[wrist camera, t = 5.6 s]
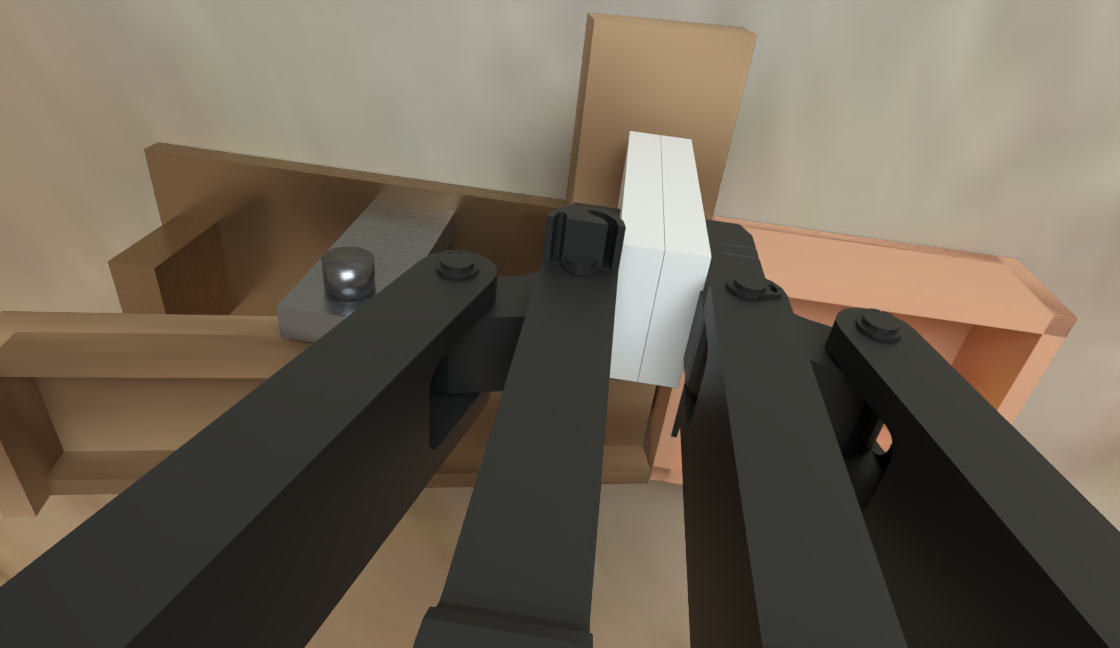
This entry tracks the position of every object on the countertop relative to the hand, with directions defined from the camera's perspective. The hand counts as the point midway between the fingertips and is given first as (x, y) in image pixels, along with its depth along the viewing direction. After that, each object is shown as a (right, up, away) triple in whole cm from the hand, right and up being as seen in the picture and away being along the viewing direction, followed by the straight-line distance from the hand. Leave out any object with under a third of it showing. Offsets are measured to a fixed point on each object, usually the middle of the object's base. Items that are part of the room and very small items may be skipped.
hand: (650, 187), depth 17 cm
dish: (+8, -4, +9) cm, 13 cm away
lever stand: (-8, -2, +10) cm, 13 cm away
